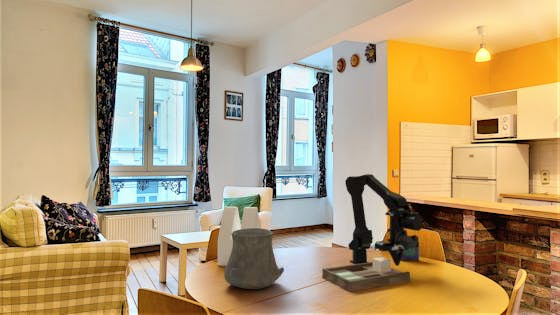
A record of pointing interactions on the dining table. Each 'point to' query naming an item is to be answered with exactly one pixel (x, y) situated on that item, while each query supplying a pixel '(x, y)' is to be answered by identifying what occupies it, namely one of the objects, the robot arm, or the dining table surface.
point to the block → (381, 265)
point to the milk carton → (234, 229)
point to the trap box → (363, 276)
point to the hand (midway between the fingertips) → (397, 265)
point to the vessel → (252, 259)
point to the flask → (411, 255)
